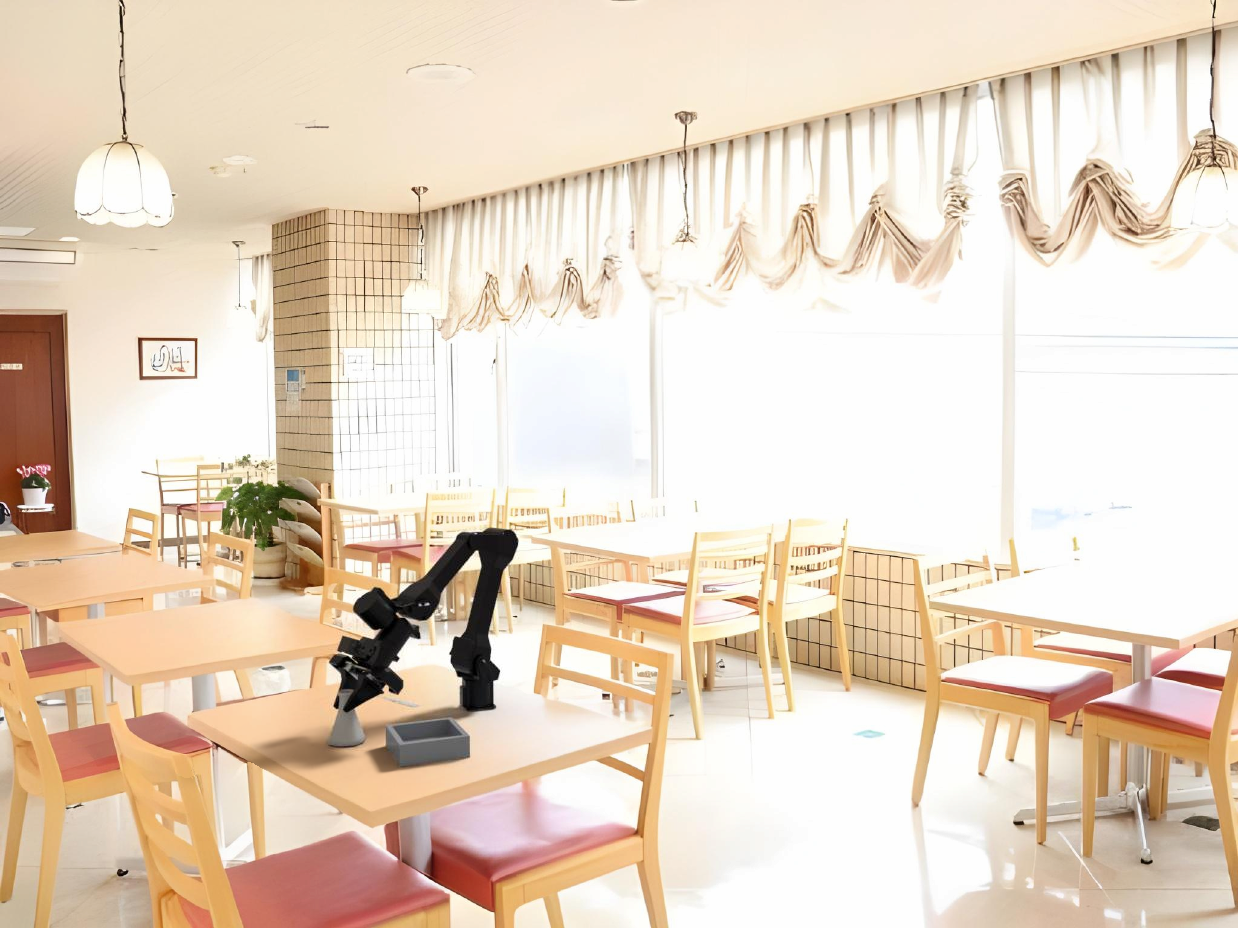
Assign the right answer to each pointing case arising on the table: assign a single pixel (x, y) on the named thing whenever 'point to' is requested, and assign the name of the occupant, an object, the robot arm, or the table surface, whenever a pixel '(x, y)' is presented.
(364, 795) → the table surface
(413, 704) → the butter knife
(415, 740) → the tray
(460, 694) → the robot arm
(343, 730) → the flask
